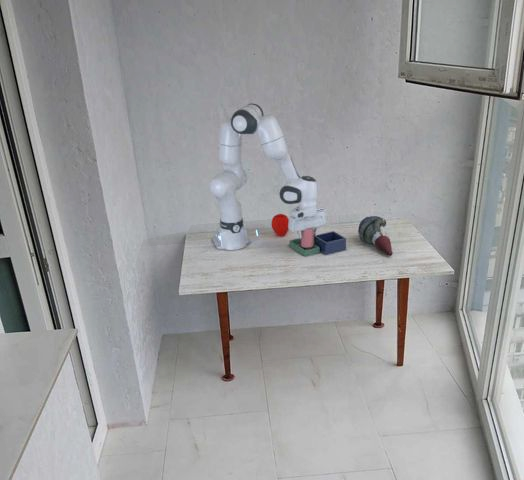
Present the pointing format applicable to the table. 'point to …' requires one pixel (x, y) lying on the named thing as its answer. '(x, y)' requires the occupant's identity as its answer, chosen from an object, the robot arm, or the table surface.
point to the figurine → (375, 233)
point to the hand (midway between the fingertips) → (307, 236)
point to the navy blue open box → (330, 242)
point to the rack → (302, 250)
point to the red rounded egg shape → (280, 224)
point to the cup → (307, 238)
